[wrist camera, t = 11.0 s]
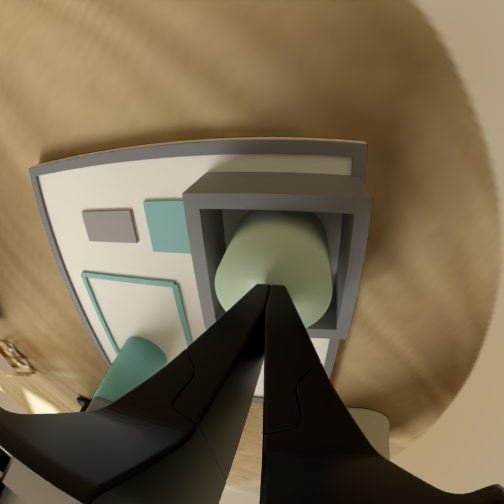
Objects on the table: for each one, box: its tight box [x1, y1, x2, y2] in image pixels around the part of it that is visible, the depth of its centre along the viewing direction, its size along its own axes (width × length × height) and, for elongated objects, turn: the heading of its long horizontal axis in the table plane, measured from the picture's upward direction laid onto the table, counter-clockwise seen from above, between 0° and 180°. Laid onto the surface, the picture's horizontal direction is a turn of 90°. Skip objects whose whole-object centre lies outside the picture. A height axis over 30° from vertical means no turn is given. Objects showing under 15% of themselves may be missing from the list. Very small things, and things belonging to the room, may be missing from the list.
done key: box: [215, 210, 332, 328], centre depth 10 cm, size 4×4×3 cm
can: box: [346, 407, 390, 461], centre depth 15 cm, size 9×9×12 cm
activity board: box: [29, 137, 373, 402], centre depth 14 cm, size 16×16×3 cm
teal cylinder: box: [86, 337, 167, 411], centre depth 15 cm, size 3×3×6 cm
